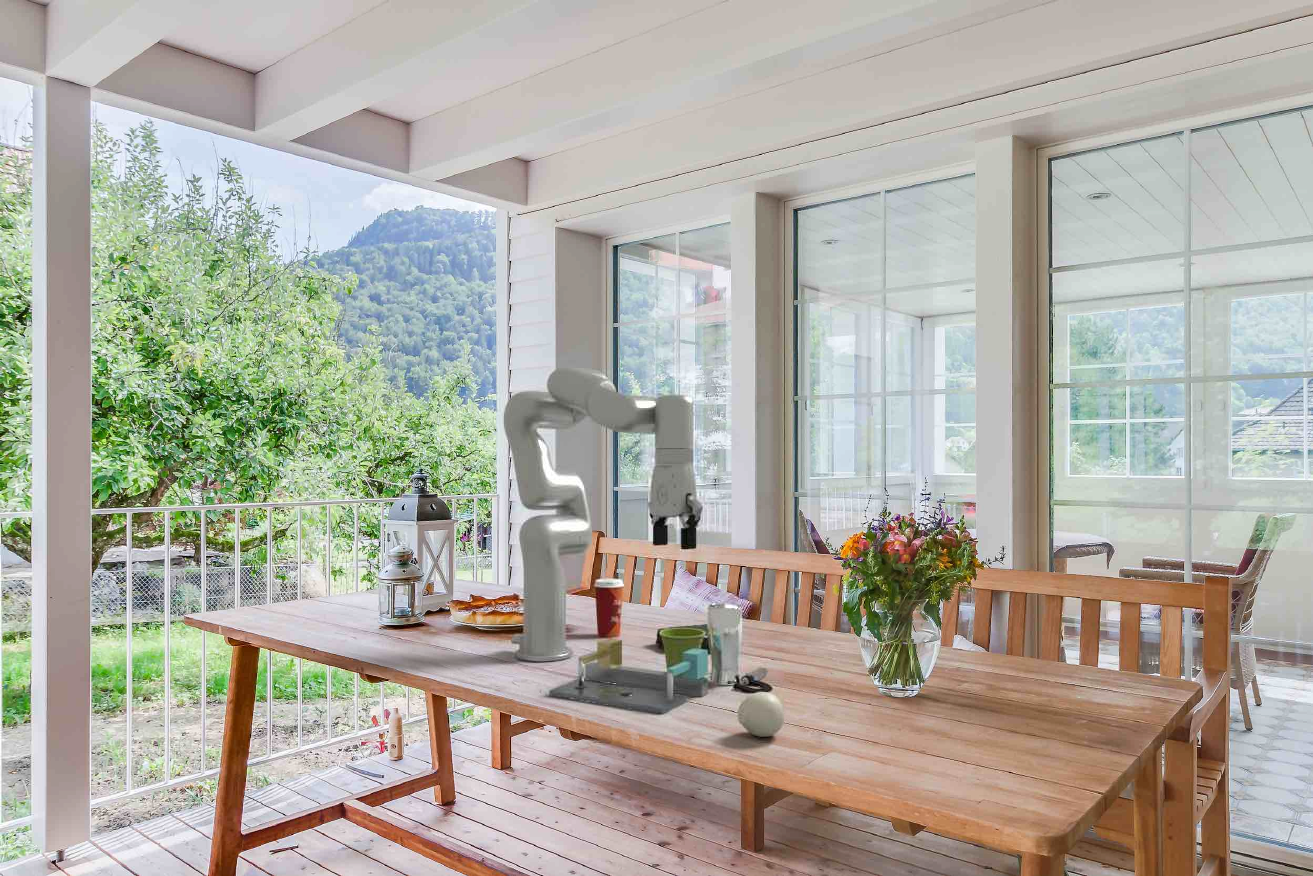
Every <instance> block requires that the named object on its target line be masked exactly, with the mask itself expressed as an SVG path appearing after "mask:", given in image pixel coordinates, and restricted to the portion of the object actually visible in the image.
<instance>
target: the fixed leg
mask: <svg viewBox="0 0 1313 876" xmlns="http://www.w3.org/2000/svg"><path fill="white" fill-rule="evenodd" d="M596 647H597V648H596V649H597V650H595V651H593V652H590V653H587V654H584V655H581V656H578V671H577V672H578V673H577V674H578V677H577V680H578V686H584V681H585V674H584V673H585V664H588V663H591V662H596V663H597V668H604V669H612V668H615V667H617V666H623V640H622V639H615V638H605V639H604V640H601V641H597V644H596Z"/></svg>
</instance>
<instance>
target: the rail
mask: <svg viewBox="0 0 1313 876" xmlns="http://www.w3.org/2000/svg"><path fill="white" fill-rule="evenodd" d="M584 673H585V674H584V680H585V679H588V680H587V681H591V680H595V681H594V682H598V681H601V682H600V683H605V682H609V683H608V684H611V683H616V684H615V685H618V684H620V685H619V686H625V685H626V686H625V687H631V688H639V687H640V688H639V689H644V690H651V691H659V690H660V691H659V692H665V693H667V671H662V670H661V671H660V670H654V669H652V670H651V669H645V668H638V667H632V666H631V667H630V666H624V665H620V666H617V667H615V668H612V669H604V668H597V662H596V661H592V662H589V663H586V664H584ZM679 693H680V694H679ZM673 694H679V695H685V696H687V695H688V696H692V697H693V696H695V697H699V696H700V697H701V698H703V697H705V696H706V695H709V678H708V677H706V676H704V677H702V678H700V679H698V680H696V679H689V678H683V674H678V675H676V676H673Z"/></svg>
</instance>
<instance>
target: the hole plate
mask: <svg viewBox="0 0 1313 876" xmlns="http://www.w3.org/2000/svg"><path fill="white" fill-rule="evenodd" d="M549 695H552V696H551V697H554V696H558V697H557V698H560V697H566V698H573V699H576V700H575V701H578V700H583V701H582V702H584V701H589V702H588V703H591V702H595V703H594V704H597V703H600V704H599V705H603V704H608V705H607V706H609V705H613V706H612V707H615V706H619V707H618V708H621V707H624V708H623V709H627V708H631V709H630V710H634V711H635V710H636V711H641V712H646V711H647V712H646V713H654V714H658V713H660V714H659V715H664V714H666V713H668V712H670V711H672V710H673V708H674V709H675V707H676V708H678V707H679V705H680V706H681V704H682V705H683V704H685V703H687V702H688V696H687V695H683V694H677V693H673V699H672V700H668V699H667V692H663V691H657V690H650V689H643V688H636V687H630V686H623V685H616V684H609V683H603V682H596V681H589V680H584V686H578V679H576V680H573V681H570V682H568V683H565V684H562V685H560V686H557V687H555V688H552V689H549ZM566 698H565V699H566ZM677 706H678V707H677Z"/></svg>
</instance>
